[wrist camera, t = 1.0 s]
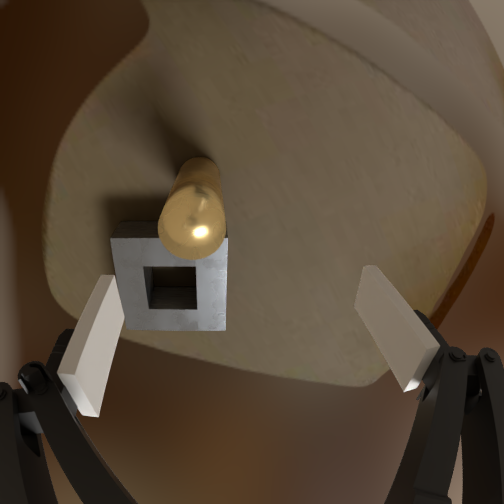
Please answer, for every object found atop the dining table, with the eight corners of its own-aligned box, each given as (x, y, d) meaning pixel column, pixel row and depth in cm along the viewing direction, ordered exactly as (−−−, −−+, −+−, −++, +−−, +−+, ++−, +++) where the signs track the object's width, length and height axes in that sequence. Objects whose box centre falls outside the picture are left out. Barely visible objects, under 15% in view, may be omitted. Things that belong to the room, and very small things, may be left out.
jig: (121, 221, 33) (110, 238, 29) (225, 221, 35) (227, 238, 31) (133, 306, 38) (126, 329, 34) (223, 307, 40) (225, 330, 36)
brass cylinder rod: (178, 156, 31) (156, 196, 18) (220, 157, 31) (227, 196, 19) (178, 196, 33) (160, 259, 20) (219, 196, 33) (225, 259, 21)
